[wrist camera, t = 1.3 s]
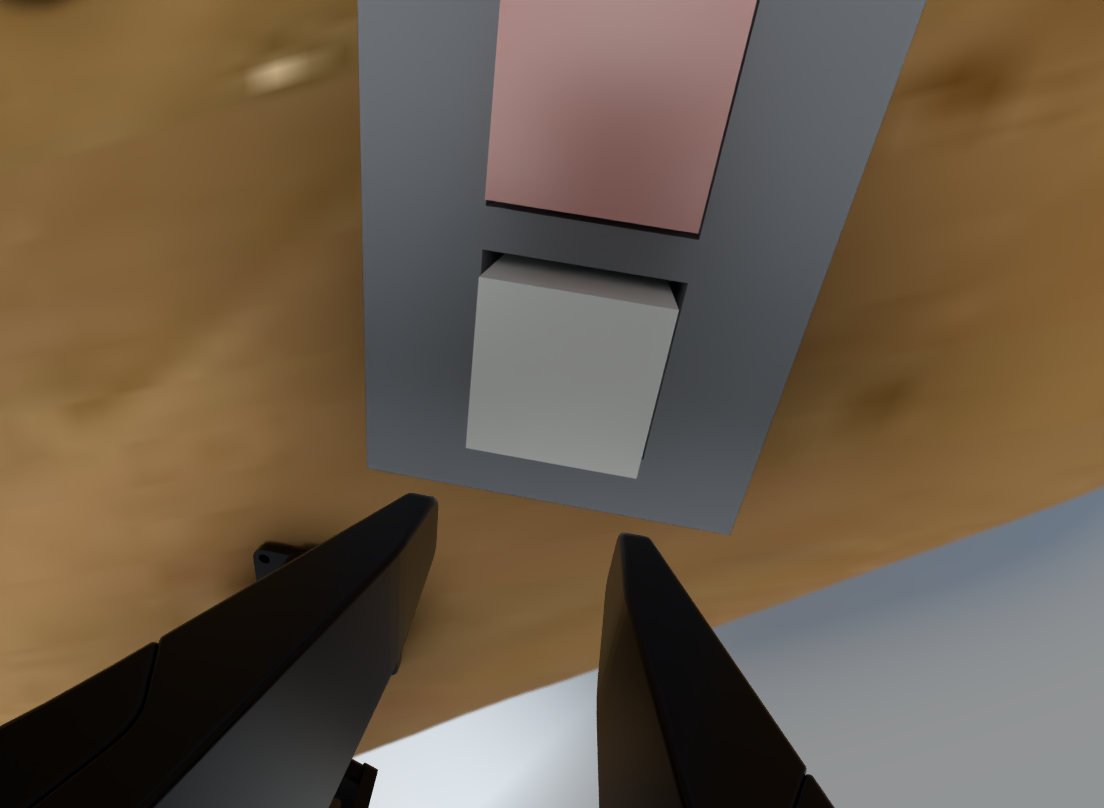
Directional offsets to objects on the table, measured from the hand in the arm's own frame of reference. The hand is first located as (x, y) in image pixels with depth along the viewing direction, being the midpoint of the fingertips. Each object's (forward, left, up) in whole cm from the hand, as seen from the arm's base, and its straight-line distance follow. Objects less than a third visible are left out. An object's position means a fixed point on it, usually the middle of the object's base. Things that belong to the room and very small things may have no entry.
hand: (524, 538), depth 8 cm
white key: (0, 0, -8) cm, 8 cm away
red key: (+6, 0, -8) cm, 10 cm away
